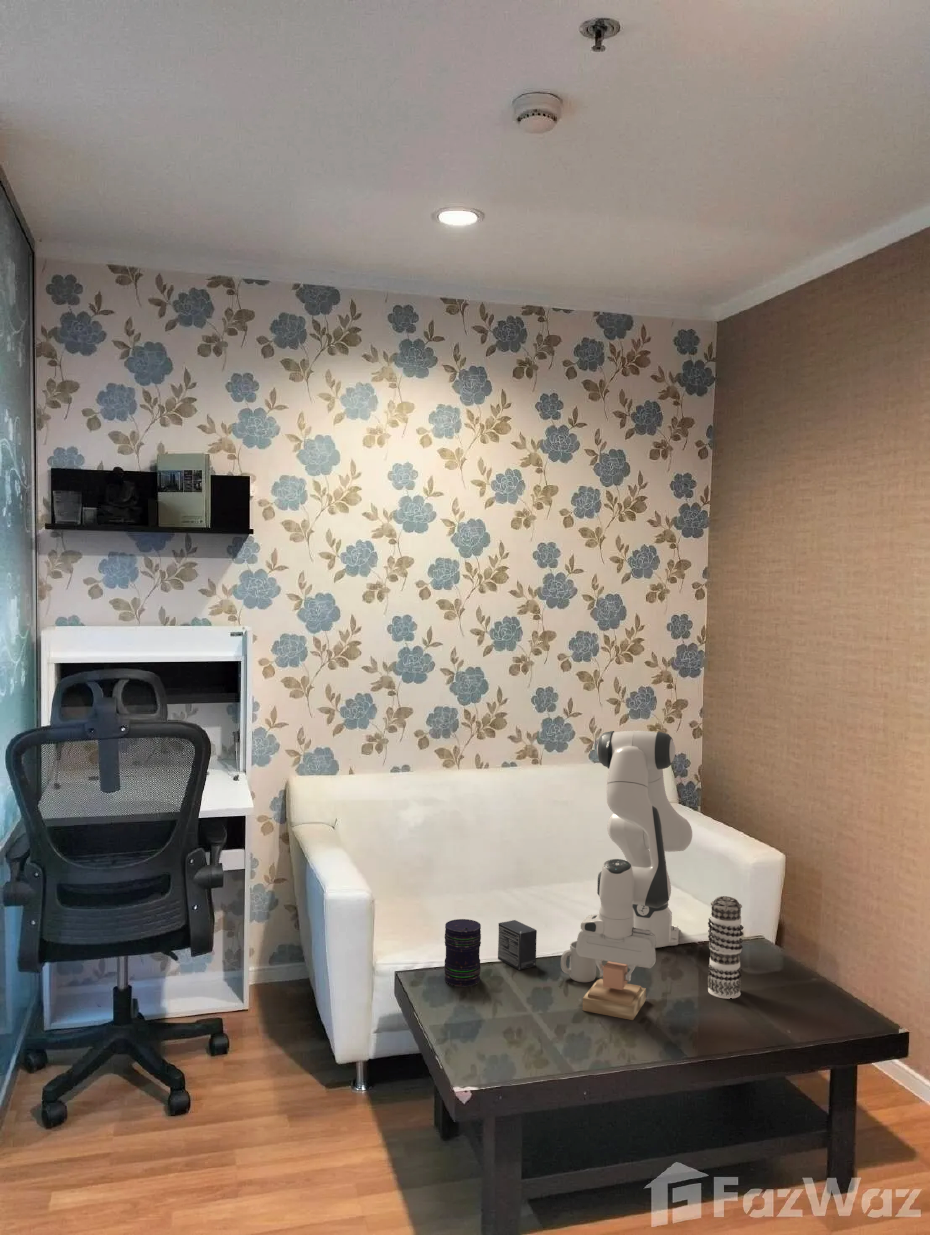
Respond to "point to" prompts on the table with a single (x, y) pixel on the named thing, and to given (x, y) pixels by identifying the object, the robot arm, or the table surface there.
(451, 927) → the storage jar
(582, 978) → the cup
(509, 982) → the table surface
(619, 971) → the cube
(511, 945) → the small box
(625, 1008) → the plinth
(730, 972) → the decorative candle
